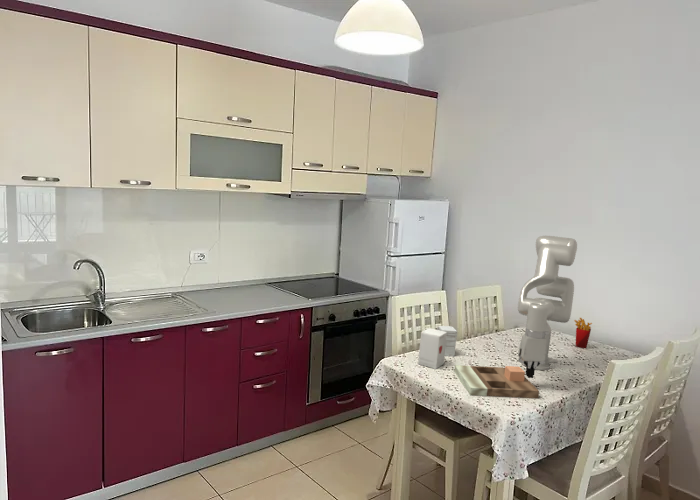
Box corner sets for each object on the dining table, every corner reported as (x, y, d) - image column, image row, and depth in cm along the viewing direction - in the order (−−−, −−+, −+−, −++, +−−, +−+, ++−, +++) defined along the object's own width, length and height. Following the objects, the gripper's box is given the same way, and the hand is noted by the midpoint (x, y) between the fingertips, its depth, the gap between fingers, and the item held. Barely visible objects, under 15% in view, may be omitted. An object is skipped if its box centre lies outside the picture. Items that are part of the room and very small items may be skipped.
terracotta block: (518, 375, 215) (519, 366, 215) (523, 381, 209) (525, 372, 209) (504, 375, 215) (505, 366, 214) (509, 380, 209) (510, 371, 209)
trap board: (515, 374, 225) (516, 368, 224) (538, 398, 201) (539, 391, 201) (454, 371, 223) (454, 365, 223) (470, 395, 199) (470, 387, 199)
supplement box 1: (436, 369, 224) (439, 336, 222) (417, 364, 229) (420, 331, 227) (444, 364, 232) (447, 331, 230) (425, 359, 237) (428, 327, 235)
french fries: (589, 346, 274) (593, 319, 272) (586, 350, 267) (590, 322, 265) (571, 342, 278) (575, 315, 276) (568, 346, 272) (572, 318, 269)
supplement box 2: (435, 350, 249) (438, 325, 247) (450, 351, 250) (453, 326, 248) (439, 356, 242) (441, 330, 240) (454, 356, 243) (457, 330, 241)
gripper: (548, 331, 214) (543, 374, 217) (513, 329, 213) (508, 372, 216) (557, 337, 207) (551, 381, 209) (520, 335, 206) (515, 379, 208)
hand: (529, 376), depth 212 cm, fingers closed
